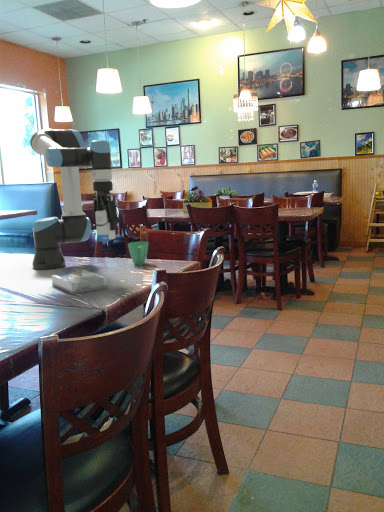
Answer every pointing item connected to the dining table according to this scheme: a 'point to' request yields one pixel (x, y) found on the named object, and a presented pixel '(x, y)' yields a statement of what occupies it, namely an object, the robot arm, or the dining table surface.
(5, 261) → the dining table surface
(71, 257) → the dining table surface
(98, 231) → the ink box
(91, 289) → the whitish low flat box
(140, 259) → the mug
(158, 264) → the dining table surface
